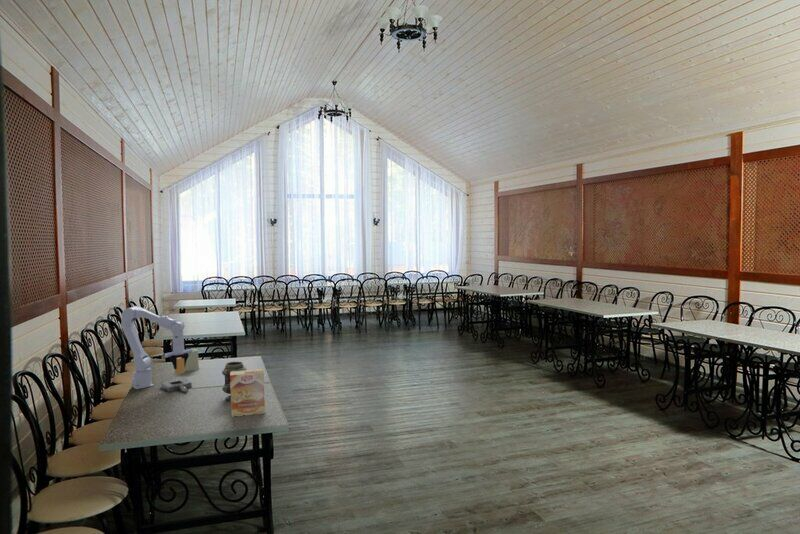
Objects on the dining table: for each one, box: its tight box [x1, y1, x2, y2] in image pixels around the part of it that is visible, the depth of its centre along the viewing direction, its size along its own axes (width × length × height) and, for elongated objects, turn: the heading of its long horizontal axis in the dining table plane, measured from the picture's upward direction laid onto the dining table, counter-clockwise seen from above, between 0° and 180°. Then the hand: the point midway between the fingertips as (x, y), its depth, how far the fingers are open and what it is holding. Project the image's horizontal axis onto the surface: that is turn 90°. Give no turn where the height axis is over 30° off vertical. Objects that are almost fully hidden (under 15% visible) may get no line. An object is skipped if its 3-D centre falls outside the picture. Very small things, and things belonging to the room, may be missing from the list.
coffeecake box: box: [230, 368, 266, 418], centre depth 255 cm, size 15×7×20 cm, turn 106°
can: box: [185, 348, 200, 372], centre depth 336 cm, size 9×9×12 cm
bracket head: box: [160, 378, 193, 394], centre depth 296 cm, size 12×20×2 cm, turn 41°
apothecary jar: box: [221, 360, 248, 402], centre depth 277 cm, size 12×12×18 cm
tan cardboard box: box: [174, 356, 186, 375], centre depth 303 cm, size 4×4×8 cm
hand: (179, 368), depth 303 cm, fingers closed on tan cardboard box, 4 cm apart
